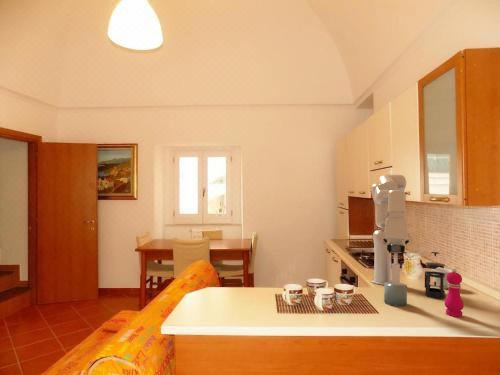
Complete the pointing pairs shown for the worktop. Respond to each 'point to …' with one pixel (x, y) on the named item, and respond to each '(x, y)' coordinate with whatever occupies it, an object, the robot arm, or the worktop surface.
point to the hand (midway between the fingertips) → (395, 252)
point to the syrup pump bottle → (395, 289)
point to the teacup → (443, 278)
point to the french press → (435, 292)
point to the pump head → (395, 251)
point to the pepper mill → (454, 295)
